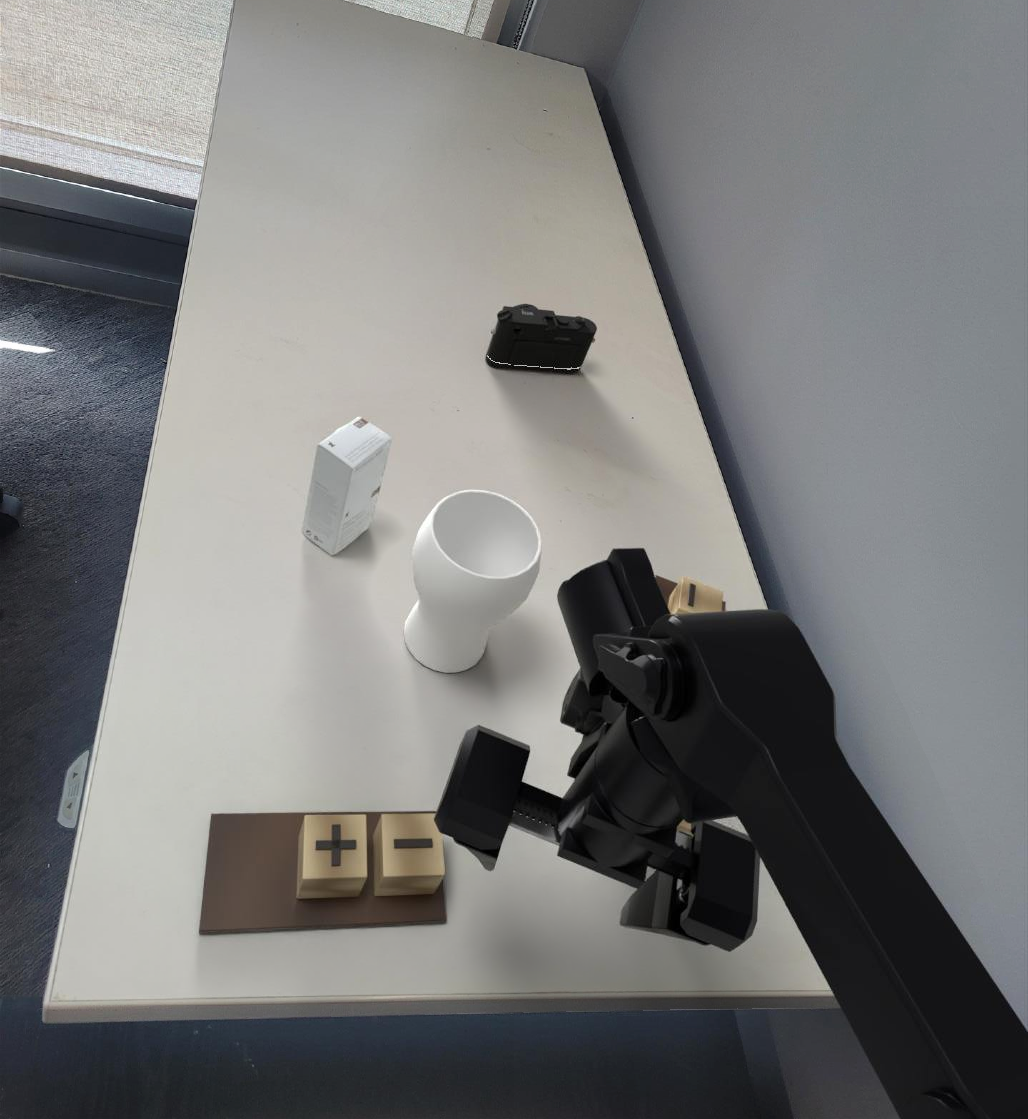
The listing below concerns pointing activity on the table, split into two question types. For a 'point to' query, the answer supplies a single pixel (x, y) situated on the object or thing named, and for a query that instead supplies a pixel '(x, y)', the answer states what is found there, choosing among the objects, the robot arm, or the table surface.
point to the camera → (539, 340)
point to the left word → (322, 871)
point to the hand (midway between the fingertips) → (556, 890)
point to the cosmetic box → (345, 485)
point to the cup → (469, 576)
